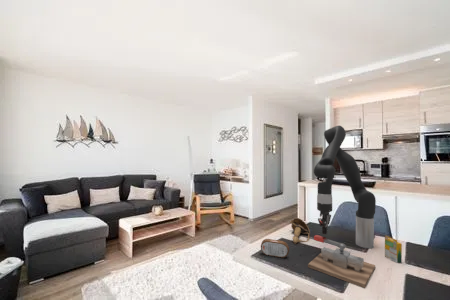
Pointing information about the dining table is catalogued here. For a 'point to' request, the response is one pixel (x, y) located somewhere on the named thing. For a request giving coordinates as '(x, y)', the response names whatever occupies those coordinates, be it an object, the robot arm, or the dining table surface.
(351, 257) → the steel pipe and valve
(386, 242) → the crayon box
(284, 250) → the tin
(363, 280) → the walnut board
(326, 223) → the robot arm
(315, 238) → the lever
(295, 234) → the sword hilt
